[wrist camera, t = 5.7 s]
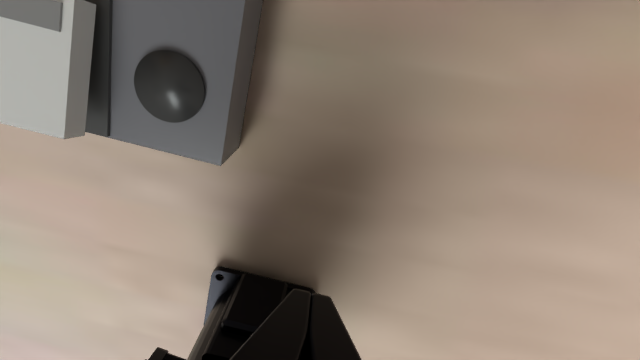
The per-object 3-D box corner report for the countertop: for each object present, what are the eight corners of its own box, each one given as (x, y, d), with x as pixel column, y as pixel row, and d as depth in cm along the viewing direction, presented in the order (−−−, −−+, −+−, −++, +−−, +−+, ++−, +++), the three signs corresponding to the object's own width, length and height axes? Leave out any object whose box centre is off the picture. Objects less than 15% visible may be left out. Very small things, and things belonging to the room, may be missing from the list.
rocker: (84, 135, 15) (61, 139, 14) (14, 117, 15) (-16, 119, 14) (96, 4, 14) (72, -4, 13) (19, -16, 14) (-13, -27, 13)
